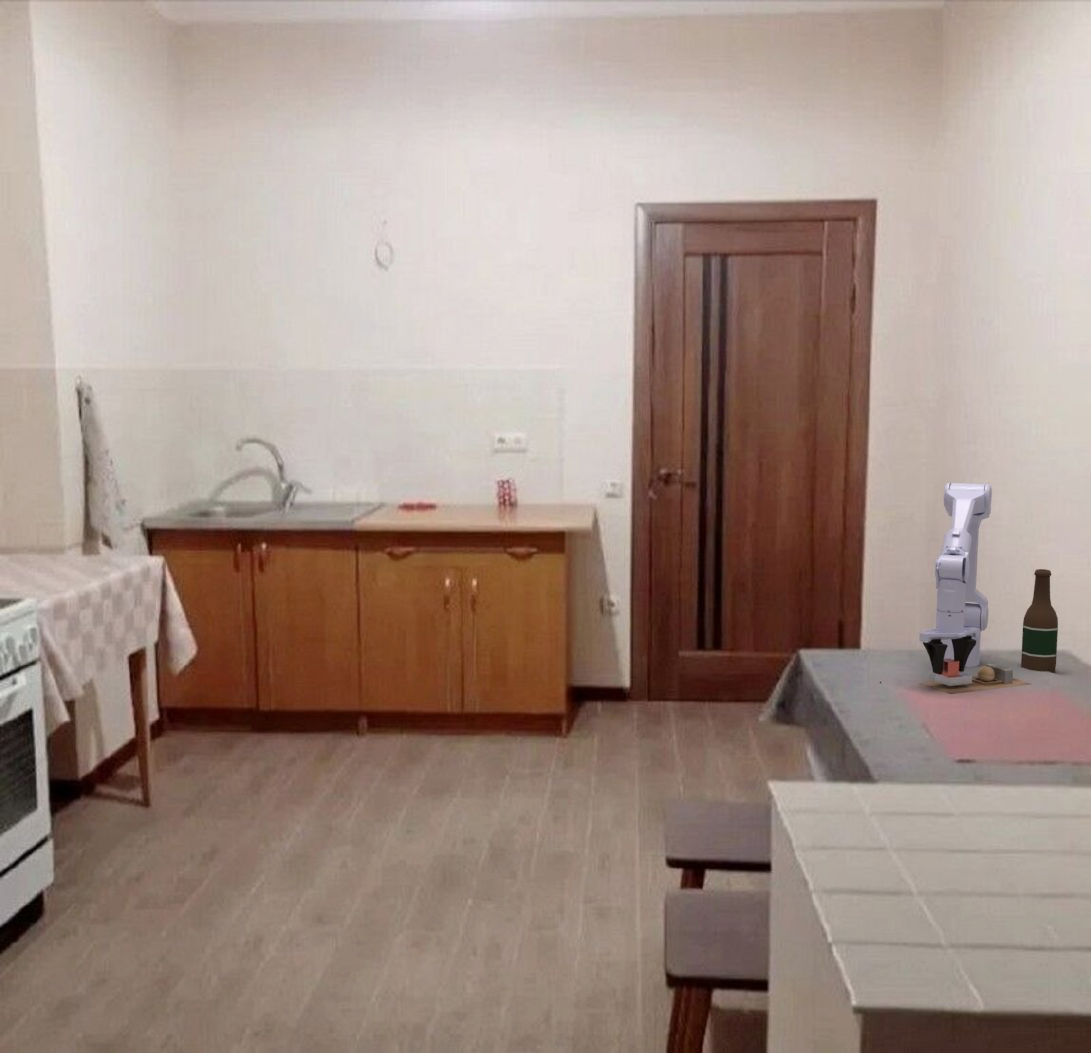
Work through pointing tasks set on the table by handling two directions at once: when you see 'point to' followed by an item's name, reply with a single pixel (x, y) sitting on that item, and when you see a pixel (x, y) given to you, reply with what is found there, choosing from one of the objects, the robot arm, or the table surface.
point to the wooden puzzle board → (981, 682)
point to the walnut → (986, 674)
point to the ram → (952, 674)
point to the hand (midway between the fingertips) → (948, 672)
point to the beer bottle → (1040, 628)
